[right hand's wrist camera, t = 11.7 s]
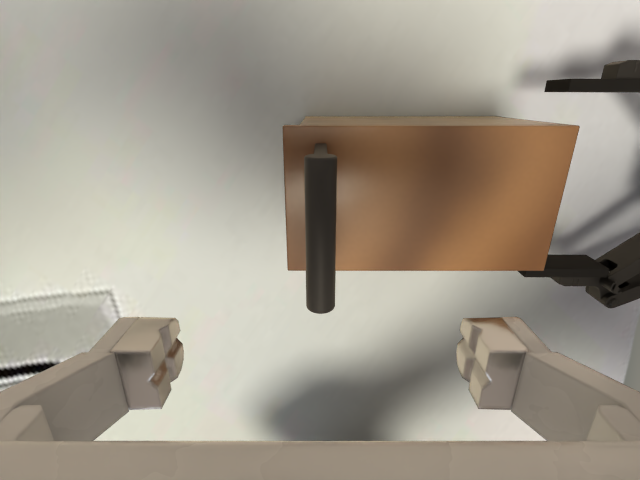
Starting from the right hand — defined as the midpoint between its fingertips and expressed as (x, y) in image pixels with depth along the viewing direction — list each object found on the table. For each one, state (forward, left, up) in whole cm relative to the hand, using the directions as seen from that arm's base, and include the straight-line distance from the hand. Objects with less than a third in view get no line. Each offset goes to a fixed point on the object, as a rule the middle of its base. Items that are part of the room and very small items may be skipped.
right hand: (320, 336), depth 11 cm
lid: (+5, +5, -15) cm, 16 cm away
